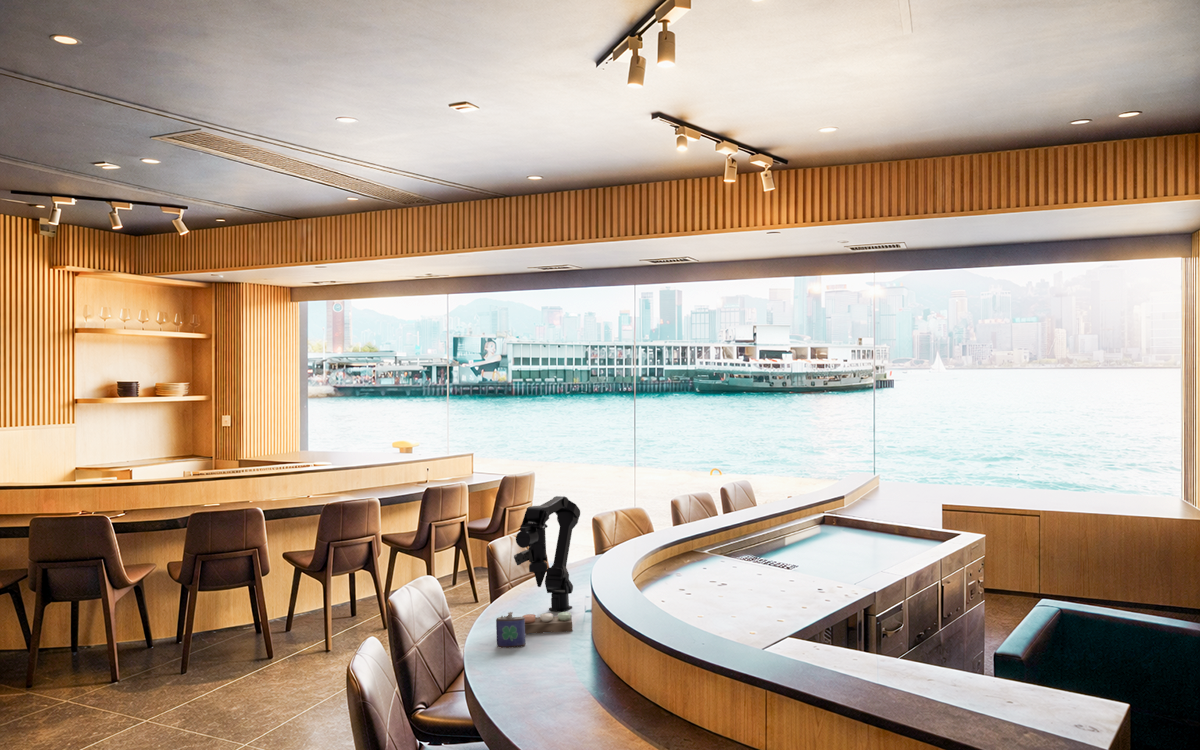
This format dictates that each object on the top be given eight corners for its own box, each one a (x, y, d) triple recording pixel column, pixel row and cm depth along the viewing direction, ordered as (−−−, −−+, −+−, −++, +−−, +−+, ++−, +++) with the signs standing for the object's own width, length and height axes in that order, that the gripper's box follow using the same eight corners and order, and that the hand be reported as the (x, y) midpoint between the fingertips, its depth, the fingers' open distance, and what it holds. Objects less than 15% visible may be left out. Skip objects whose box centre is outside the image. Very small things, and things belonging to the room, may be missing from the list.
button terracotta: (522, 623, 241) (522, 618, 242) (522, 619, 246) (522, 614, 246) (535, 622, 242) (535, 617, 242) (535, 618, 246) (535, 613, 246)
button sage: (558, 620, 242) (557, 616, 243) (557, 617, 247) (557, 612, 247) (571, 620, 243) (570, 615, 243) (570, 616, 247) (570, 611, 247)
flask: (526, 644, 229) (524, 610, 230) (524, 647, 226) (523, 613, 227) (497, 645, 230) (496, 611, 230) (495, 648, 227) (494, 614, 227)
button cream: (540, 622, 242) (540, 617, 242) (540, 618, 246) (540, 613, 246) (553, 621, 242) (553, 616, 242) (553, 617, 247) (552, 612, 247)
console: (521, 634, 240) (521, 625, 240) (522, 627, 248) (522, 618, 248) (572, 631, 241) (572, 622, 241) (571, 623, 249) (571, 615, 249)
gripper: (515, 538, 264) (517, 581, 263) (513, 548, 245) (515, 595, 244) (546, 537, 264) (547, 580, 264) (546, 546, 246) (548, 593, 245)
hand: (539, 586), depth 254 cm, fingers closed
